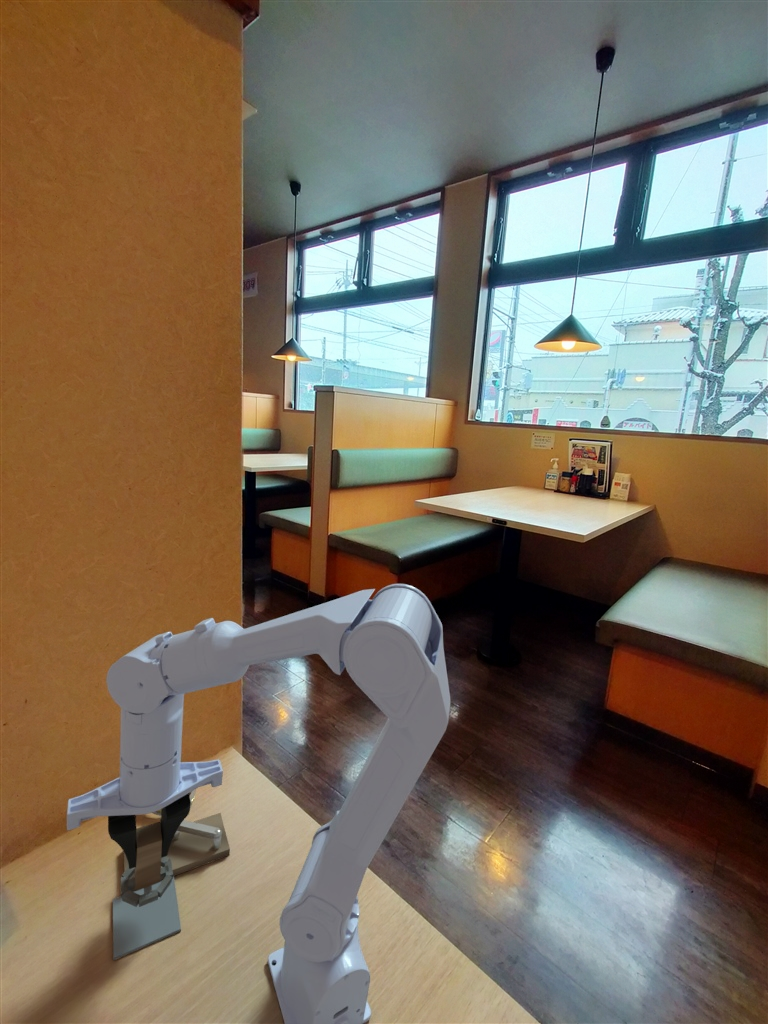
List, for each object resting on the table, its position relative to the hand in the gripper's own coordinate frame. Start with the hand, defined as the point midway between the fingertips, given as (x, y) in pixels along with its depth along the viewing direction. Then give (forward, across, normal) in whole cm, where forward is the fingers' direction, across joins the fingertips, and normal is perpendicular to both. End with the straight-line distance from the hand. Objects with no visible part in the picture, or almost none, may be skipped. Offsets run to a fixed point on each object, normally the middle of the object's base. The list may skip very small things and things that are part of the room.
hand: (148, 854), depth 50 cm
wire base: (+9, -4, -6) cm, 11 cm away
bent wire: (+9, -4, -6) cm, 11 cm away
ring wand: (+4, 0, 0) cm, 4 cm away
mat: (+9, 0, 0) cm, 9 cm away
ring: (+8, -7, -13) cm, 17 cm away
